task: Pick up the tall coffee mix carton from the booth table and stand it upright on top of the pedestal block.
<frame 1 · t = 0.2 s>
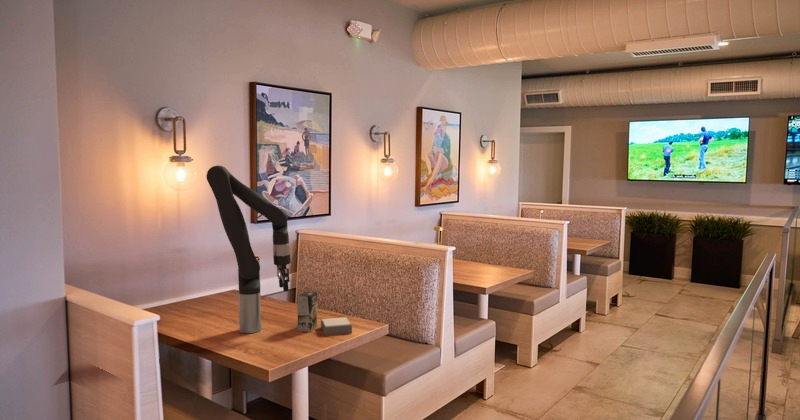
hand: (283, 289, 254), 18 cm above the table, tool pointing down, fingers open, 8 cm apart
coffee box: (307, 329, 254), on the table
pedestal: (336, 330, 252), on the table
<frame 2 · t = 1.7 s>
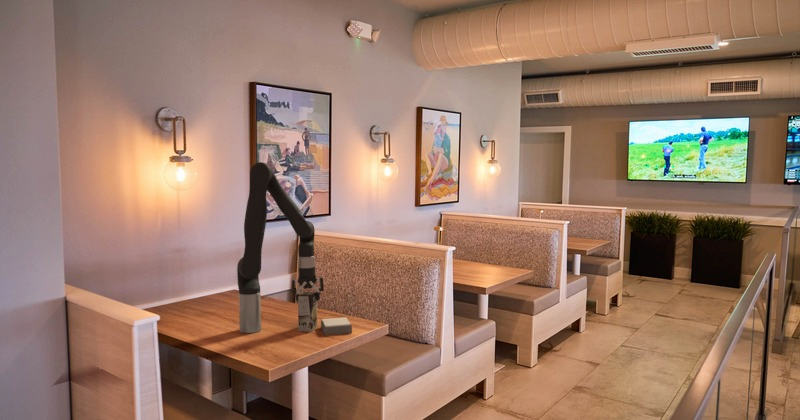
hand: (308, 301, 254), 13 cm above the table, tool pointing down, fingers open, 8 cm apart
nothing on the table moved.
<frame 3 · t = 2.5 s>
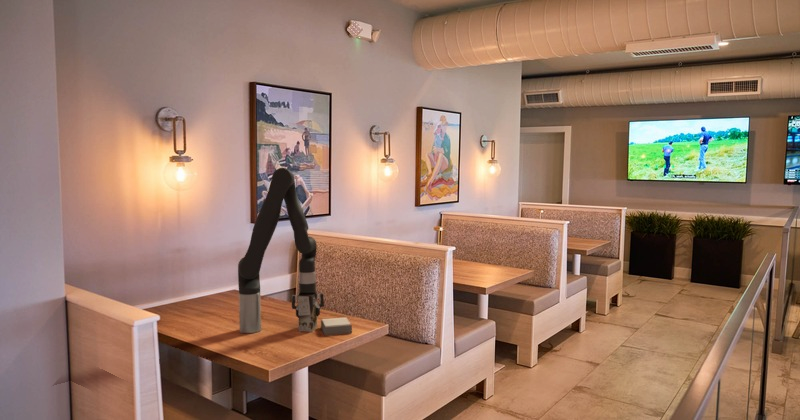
hand: (308, 316, 254), 5 cm above the table, tool pointing down, fingers open, 8 cm apart
coffee box: (308, 329, 254), on the table, touching gripper
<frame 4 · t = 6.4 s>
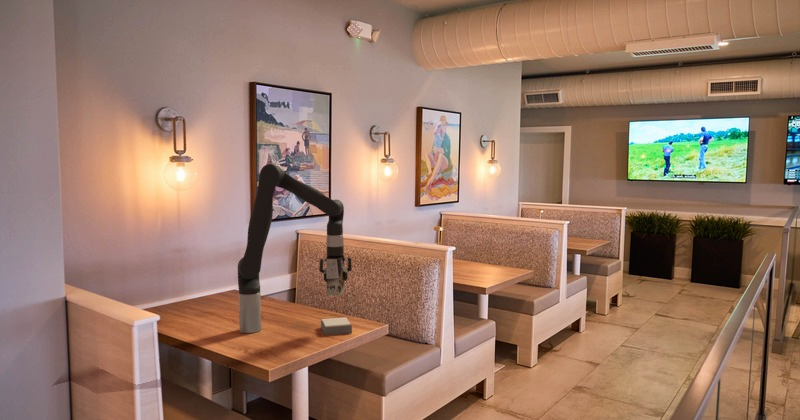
hand: (335, 281, 250), 22 cm above the table, tool pointing down, fingers closed on coffee box, 8 cm apart
coffee box: (335, 293, 251), point 17 cm above the table, touching gripper
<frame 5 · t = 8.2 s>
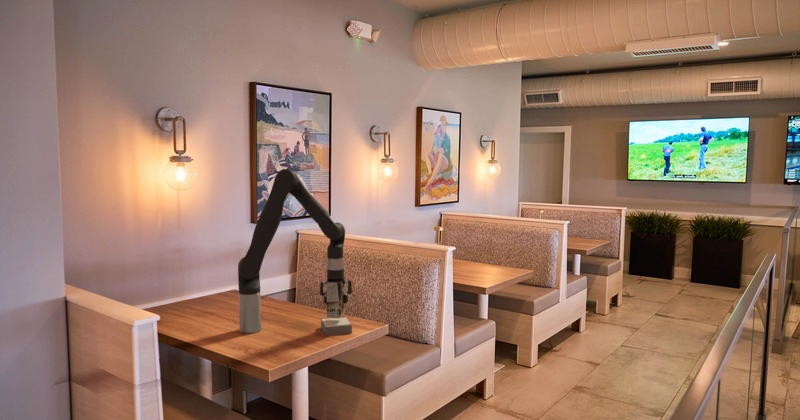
hand: (335, 303, 251), 12 cm above the table, tool pointing down, fingers closed on coffee box, 8 cm apart
coffee box: (335, 316, 251), point 7 cm above the table, touching gripper
when the fingers open (11 cm above the table, at t = 9.6 s): coffee box drops 1 cm, resting on pedestal.
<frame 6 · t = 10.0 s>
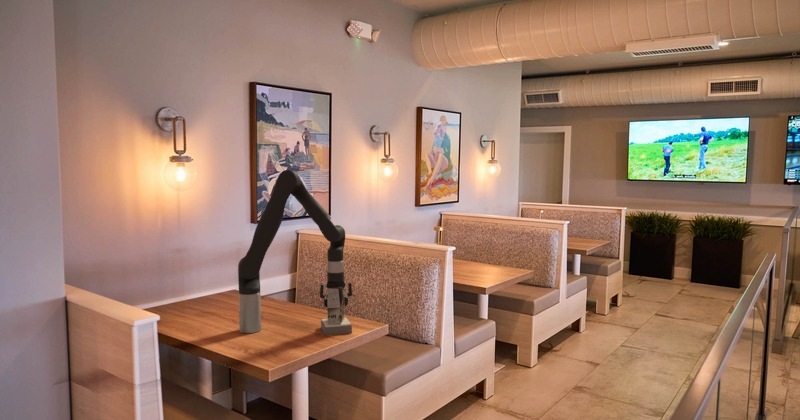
hand: (335, 306, 251), 11 cm above the table, tool pointing down, fingers open, 8 cm apart
coffee box: (336, 322, 251), point 4 cm above the table, touching pedestal
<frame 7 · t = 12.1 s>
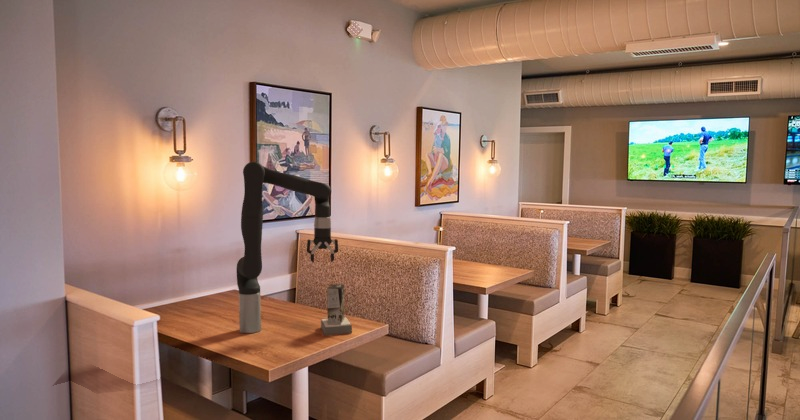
hand: (322, 261, 259), 29 cm above the table, tool pointing down, fingers open, 8 cm apart
nothing on the table moved.
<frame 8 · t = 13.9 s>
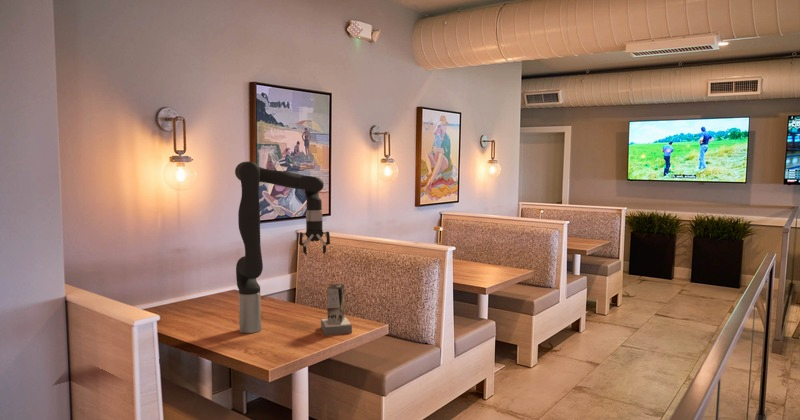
hand: (314, 253, 265), 32 cm above the table, tool pointing down, fingers open, 8 cm apart
nothing on the table moved.
at the end: coffee box inside the target area on the pedestal (0.1 cm from its centre), point 3.8 cm above the pedestal's base; coffee box tilted 0°; the gripper is holding nothing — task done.
